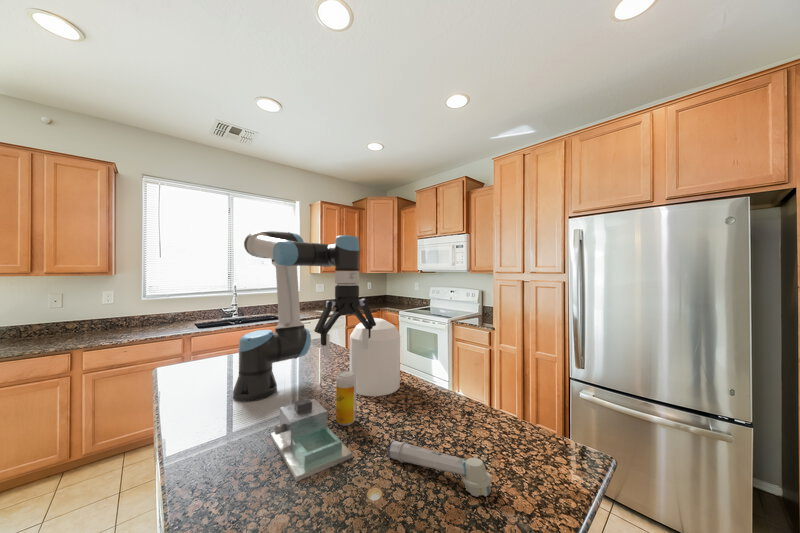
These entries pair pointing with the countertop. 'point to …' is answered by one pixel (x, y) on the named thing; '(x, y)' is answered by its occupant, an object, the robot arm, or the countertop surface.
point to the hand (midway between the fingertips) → (346, 352)
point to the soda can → (346, 398)
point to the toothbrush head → (445, 465)
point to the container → (376, 359)
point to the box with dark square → (307, 439)
